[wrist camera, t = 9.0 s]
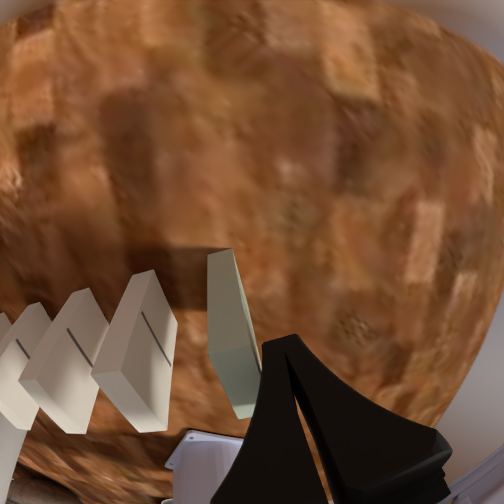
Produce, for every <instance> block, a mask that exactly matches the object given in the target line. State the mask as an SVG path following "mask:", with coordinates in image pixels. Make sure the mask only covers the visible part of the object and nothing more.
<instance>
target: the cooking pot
mask: <svg viewBox="0 0 504 504" xmlns="http://www.w3.org/2000/svg"><path fill="white" fill-rule="evenodd" d="M5 504H83V503H82V502H81V501H79V500H78V499H77V498H76V497H75V496H74V495H73V494H72V493H71V492H70V491H69V490H68V489H66V488H64V487H63V486H61V485H59V484H56V483H54V482H52V481H49V480H46V479H24V478H20V479H14V480H12V481H11V482H10V486H9V490H8V494H7V498H6V502H5Z"/></svg>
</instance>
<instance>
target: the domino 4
mask: <svg viewBox="0 0 504 504" xmlns="http://www.w3.org/2000/svg"><path fill="white" fill-rule="evenodd" d="M207 331H208V356H209V358H210V361H211V363H212V365H213V367H214V369H215V371H216V374H217V376H218V378H219V380H220V382H221V384H222V386H223V389H224V391H225V393H226V395H227V397H228V399H229V401H230V403H231V405H232V407H233V409H234V411H235V413H236V415H237V417H238V419H243V418H247V417H252V415H253V412H254V408H255V404H256V400H257V395H258V391H259V385H260V378H261V371H262V366H261V362H260V358H259V353H258V349H257V344H256V340H255V335H254V331H253V326H252V322H251V317H250V313H249V308H248V304H247V301H246V297H245V294H244V290H243V286H242V283H241V279H240V275H239V272H238V268H237V265H236V261H235V257H234V254H233V250H232V248H231V249H227V250H224V251H220V252H216V253H212V254H208V262H207Z"/></svg>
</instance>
